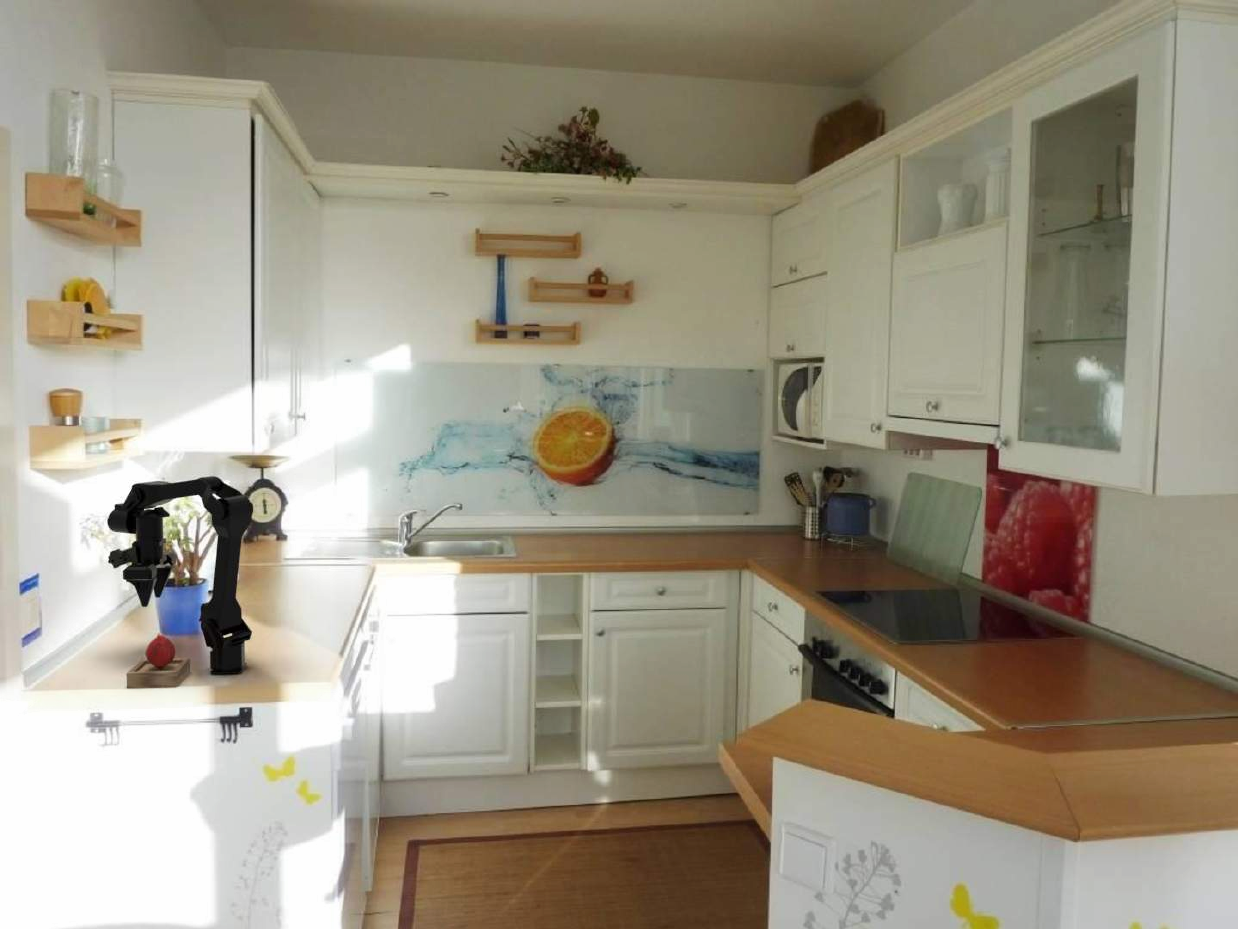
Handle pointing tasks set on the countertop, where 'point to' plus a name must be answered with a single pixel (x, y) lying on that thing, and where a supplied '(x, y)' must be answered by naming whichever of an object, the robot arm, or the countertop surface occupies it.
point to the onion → (160, 651)
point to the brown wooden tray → (158, 674)
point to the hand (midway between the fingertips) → (151, 602)
